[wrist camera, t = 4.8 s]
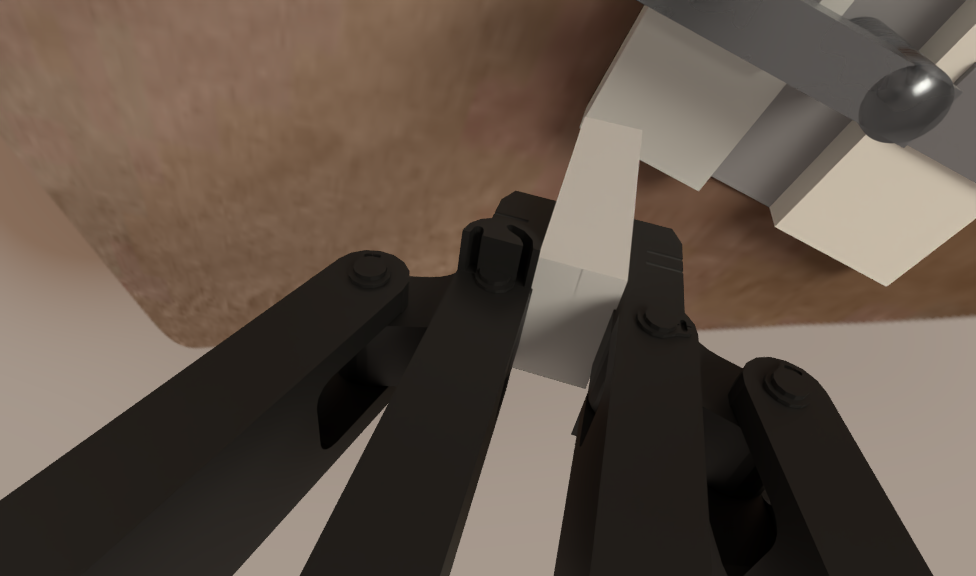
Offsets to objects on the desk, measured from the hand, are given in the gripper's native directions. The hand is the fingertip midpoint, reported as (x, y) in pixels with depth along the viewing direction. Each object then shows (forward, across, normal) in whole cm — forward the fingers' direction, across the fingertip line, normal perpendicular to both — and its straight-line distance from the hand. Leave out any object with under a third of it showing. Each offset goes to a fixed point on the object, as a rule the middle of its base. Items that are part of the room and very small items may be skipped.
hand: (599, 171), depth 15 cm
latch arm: (+12, +4, +3) cm, 13 cm away
